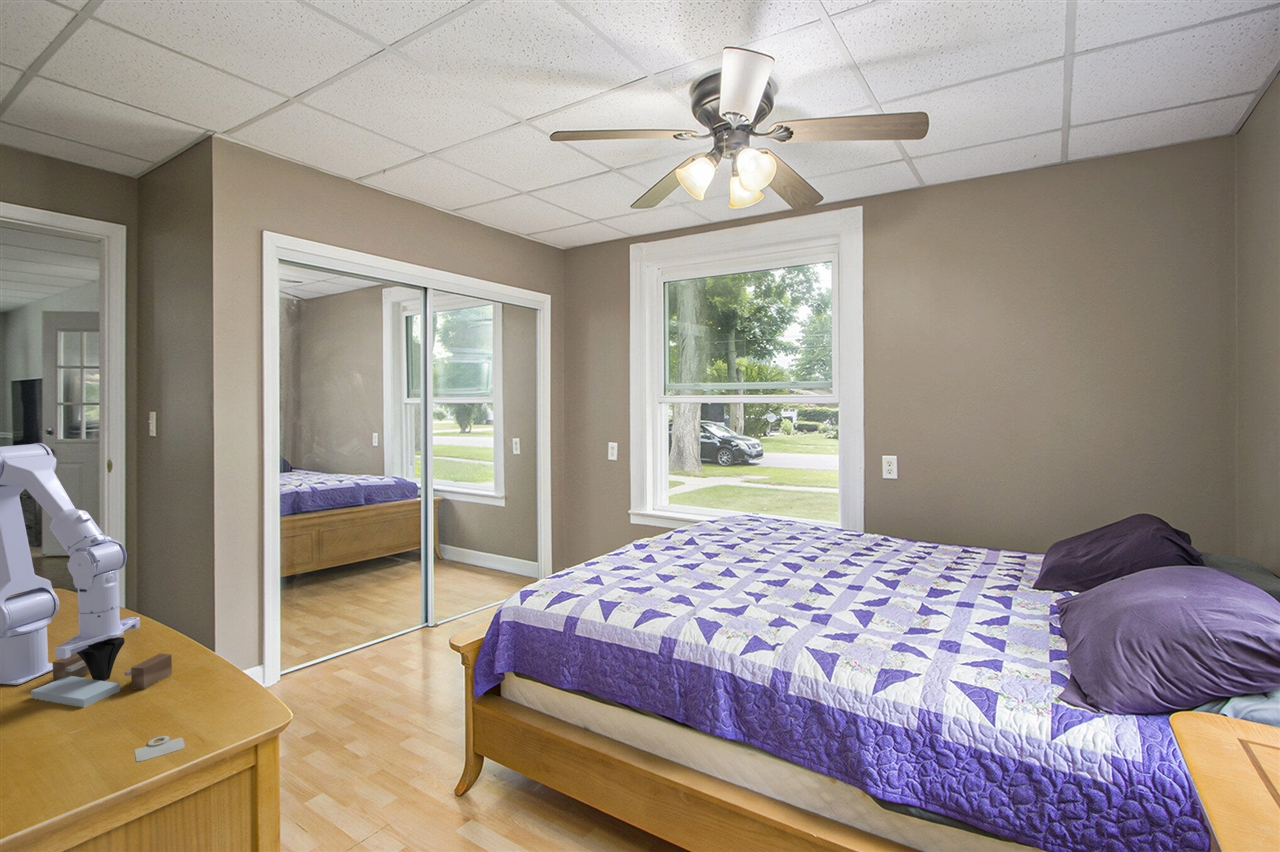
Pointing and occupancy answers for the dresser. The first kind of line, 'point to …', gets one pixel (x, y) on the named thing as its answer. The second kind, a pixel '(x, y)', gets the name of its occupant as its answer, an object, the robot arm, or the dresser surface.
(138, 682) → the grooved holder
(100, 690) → the cover plate
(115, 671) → the dresser surface
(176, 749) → the mounting bracket
